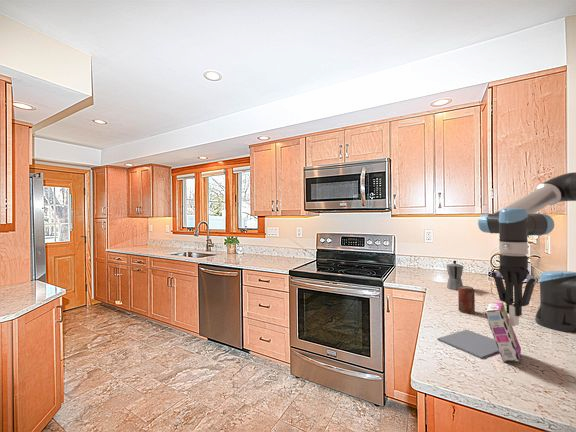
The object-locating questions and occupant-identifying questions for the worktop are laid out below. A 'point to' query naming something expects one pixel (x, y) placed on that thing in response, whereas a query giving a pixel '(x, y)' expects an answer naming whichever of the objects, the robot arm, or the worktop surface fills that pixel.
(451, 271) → the coffeepot
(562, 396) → the worktop surface
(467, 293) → the soda can
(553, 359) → the worktop surface
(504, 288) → the robot arm
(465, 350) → the mat
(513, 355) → the candy bar box
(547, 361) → the worktop surface
